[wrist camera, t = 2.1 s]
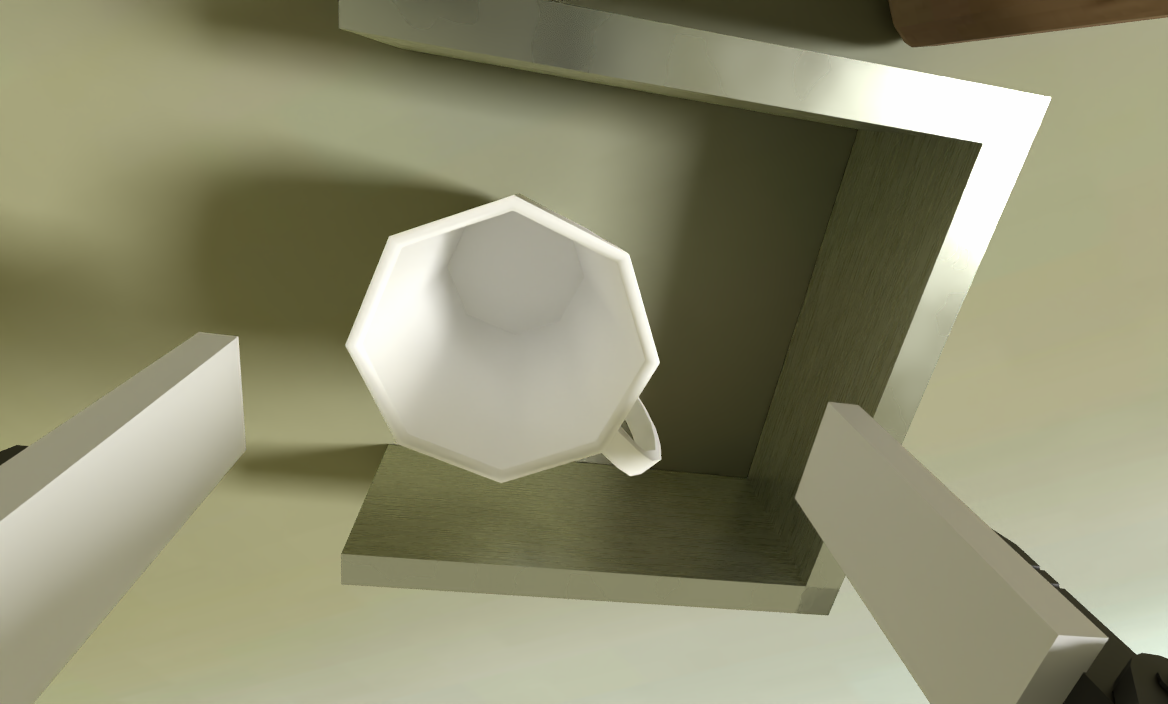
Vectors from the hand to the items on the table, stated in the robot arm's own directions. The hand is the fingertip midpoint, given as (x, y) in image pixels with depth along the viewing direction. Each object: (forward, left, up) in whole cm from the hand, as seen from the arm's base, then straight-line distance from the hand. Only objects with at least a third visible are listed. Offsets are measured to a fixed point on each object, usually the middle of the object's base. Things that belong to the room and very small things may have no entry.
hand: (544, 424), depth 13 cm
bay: (0, +3, -9) cm, 9 cm away
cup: (0, 0, -9) cm, 9 cm away
